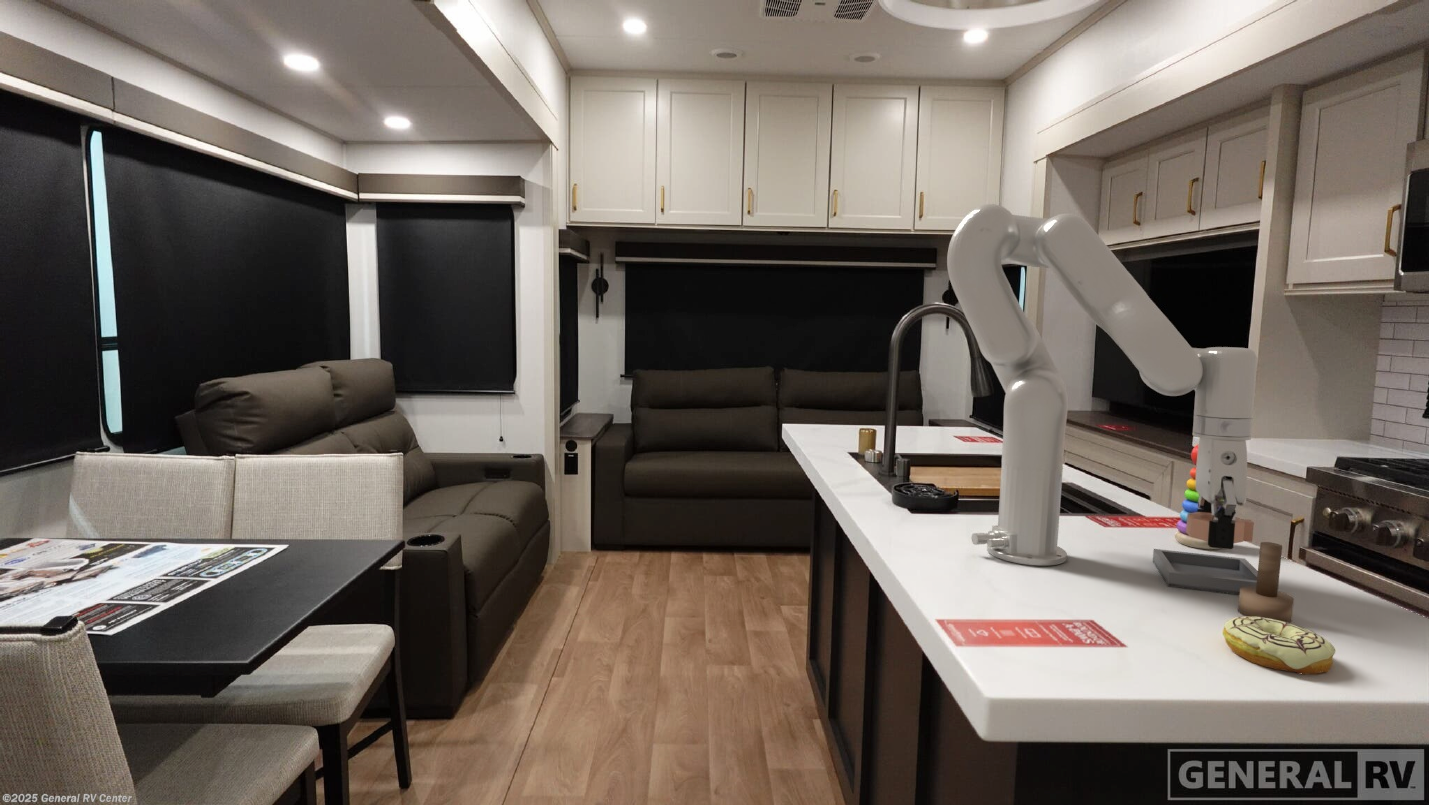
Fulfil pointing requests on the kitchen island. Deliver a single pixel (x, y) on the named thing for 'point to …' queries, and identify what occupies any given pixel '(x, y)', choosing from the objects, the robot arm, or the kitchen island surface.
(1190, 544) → the stacking toy
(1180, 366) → the robot arm
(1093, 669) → the kitchen island surface
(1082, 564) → the kitchen island surface
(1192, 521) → the ring
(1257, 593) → the rod
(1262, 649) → the decorated donut
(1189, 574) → the tray
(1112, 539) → the kitchen island surface
